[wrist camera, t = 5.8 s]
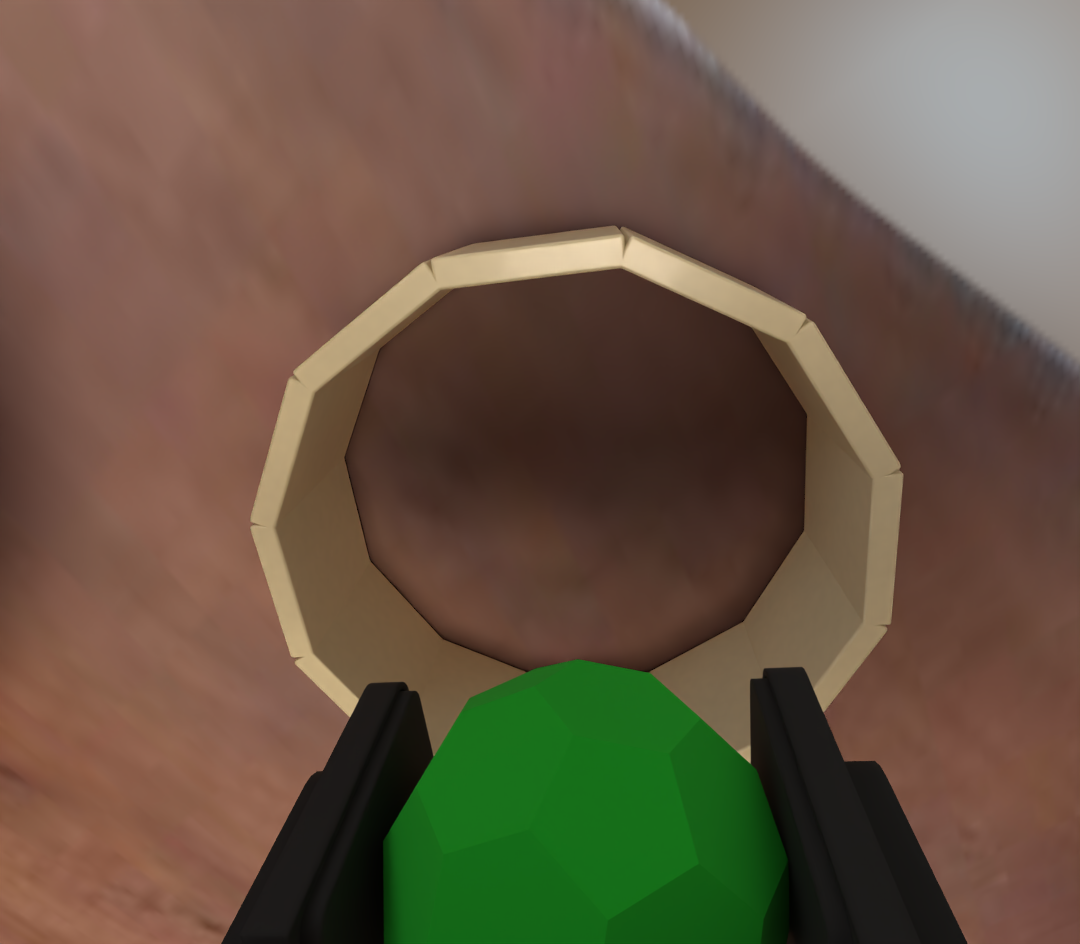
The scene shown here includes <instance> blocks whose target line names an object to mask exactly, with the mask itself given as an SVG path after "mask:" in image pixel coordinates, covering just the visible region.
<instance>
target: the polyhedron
mask: <svg viewBox="0 0 1080 944" xmlns="http://www.w3.org/2000/svg"><path fill="white" fill-rule="evenodd" d="M383 885H384V944H786V943H787V938H788V933H789V866H788V858H787V855H786V852H785V849H784V846H783V844H782V841H781V838H780V835H779V832H778V829H777V826H776V824H775V821H774V818H773V815H772V812H771V809H770V806H769V804H768V801H767V798H766V795H765V792H764V789H763V786H762V783H761V781H760V778H759V775H758V772H757V769H755V768H754V767H753V766H752V765H751V764H750V763H749V762H748V761H747V760H746V759H745V758H744V757H742V756H741V755H740V754H739V753H738V752H737V751H736V750H735V749H734V748H733V747H732V746H731V745H729V744H728V743H727V742H726V741H725V740H724V739H723V738H722V737H721V736H720V735H719V734H718V733H716V732H715V731H714V730H713V729H712V728H711V727H710V726H709V725H708V724H707V723H706V722H705V721H703V720H702V719H701V718H700V717H699V716H698V715H697V714H696V713H695V712H693V711H692V710H691V709H690V708H689V707H688V706H687V705H686V704H685V703H683V702H682V701H681V700H680V699H679V698H678V697H677V696H676V695H674V694H673V693H672V692H671V691H670V690H669V689H668V688H667V687H666V686H664V685H663V684H662V683H661V682H660V681H659V680H658V679H657V678H655V677H654V676H653V675H652V674H651V673H647V672H642V671H637V670H631V669H626V668H621V667H616V666H611V665H605V664H600V663H595V662H590V661H584V660H579V659H577V660H572V661H568V662H563V663H558V664H554V665H549V666H545V667H540V668H536V669H533V670H531V671H529V672H527V673H524V674H522V675H520V676H518V677H515V678H513V679H511V680H509V681H506V682H504V683H502V684H500V685H497V686H495V687H493V688H491V689H488V690H486V691H484V692H482V693H480V694H477V695H475V696H473V697H471V698H469V700H468V701H467V703H466V704H465V706H464V708H463V709H462V711H461V712H460V714H459V716H458V717H457V719H456V721H455V722H454V724H453V726H452V727H451V729H450V731H449V732H448V734H447V736H446V737H445V739H444V741H443V742H442V744H441V746H440V747H439V749H438V751H437V752H436V754H435V756H434V757H433V759H432V760H431V762H430V764H429V765H428V767H427V769H426V770H425V772H424V774H423V775H422V777H421V779H420V780H419V782H418V784H417V785H416V787H415V789H414V790H413V792H412V794H411V795H410V797H409V799H408V800H407V802H406V804H405V805H404V807H403V809H402V810H401V812H400V814H399V815H398V817H397V819H396V821H395V822H394V824H393V826H392V827H391V829H390V831H389V832H388V834H387V836H386V837H385V839H384V841H383Z"/></svg>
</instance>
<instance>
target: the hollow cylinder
mask: <svg viewBox="0 0 1080 944" xmlns="http://www.w3.org/2000/svg"><path fill="white" fill-rule="evenodd" d="M619 268H622V269H624V270H626V271H628V272H631V273H633V274H635V275H637V276H639V277H642V278H644V279H646V280H648V281H651V282H653V283H655V284H657V285H659V286H662V287H664V288H666V289H668V290H670V291H673V292H675V293H677V294H679V295H681V296H684V297H686V298H688V299H690V300H692V301H695V302H697V303H699V304H701V305H703V306H706V307H708V308H710V309H712V310H714V311H717V312H719V313H721V314H723V315H726V316H728V317H730V318H732V319H734V320H737V321H739V322H741V323H743V324H745V325H748V326H750V327H752V329H753V331H754V332H755V334H756V335H757V337H758V338H759V340H760V342H761V343H762V345H763V346H764V348H765V349H766V351H767V352H768V354H769V356H770V357H771V359H772V360H773V362H774V363H775V365H776V367H777V368H778V370H779V371H780V373H781V374H782V376H783V378H784V379H785V381H786V382H787V384H788V385H789V387H790V388H791V390H792V392H793V393H794V395H795V396H796V398H797V399H798V401H799V403H800V404H801V406H802V407H803V409H804V410H805V412H806V414H807V438H806V477H805V516H804V531H803V533H802V534H801V536H800V537H799V539H798V540H797V542H796V543H795V545H794V546H793V548H792V549H791V551H790V552H789V554H788V555H787V557H786V558H785V560H784V561H783V563H782V564H781V566H780V567H779V569H778V571H777V572H776V574H775V575H774V577H773V578H772V580H771V581H770V583H769V584H768V586H767V587H766V589H765V590H764V592H763V593H762V595H761V596H760V598H759V599H758V601H757V602H756V604H755V605H754V607H753V608H752V610H751V611H750V613H749V614H748V616H747V617H746V619H745V620H744V622H742V623H740V624H738V625H736V626H734V627H732V628H731V629H729V630H727V631H725V632H723V633H721V634H719V635H717V636H716V637H714V638H712V639H710V640H708V641H706V642H704V643H702V644H701V645H699V646H697V647H695V648H693V649H691V650H689V651H687V652H686V653H684V654H682V655H680V656H678V657H676V658H674V659H672V660H671V661H669V662H667V663H665V664H663V665H661V666H659V667H658V668H656V669H654V670H652V671H650V672H648V673H651V674H652V675H653V676H654V677H655V678H657V679H658V680H659V681H660V682H661V683H662V684H663V685H664V686H666V687H667V688H668V689H669V690H670V691H671V692H672V693H673V694H674V695H676V696H677V697H678V698H679V699H680V700H681V701H682V702H683V703H685V704H686V705H687V706H688V707H689V708H690V709H691V710H692V711H693V712H695V713H696V714H697V715H698V716H699V717H700V718H701V719H702V720H703V721H705V722H706V723H707V724H708V725H709V726H710V727H711V728H712V729H713V730H714V731H715V732H716V733H718V734H719V735H720V736H721V737H722V738H723V739H724V740H725V741H726V742H727V743H728V744H729V745H731V746H732V747H733V748H734V749H735V750H736V751H737V752H738V753H739V754H740V755H741V756H742V757H744V758H745V759H746V760H747V761H748V762H749V763H750V764H751V745H750V680H751V679H758V678H762V677H763V669H764V668H783V667H803V668H804V669H805V671H806V673H807V675H808V677H809V680H810V682H811V685H812V687H813V689H814V692H815V694H816V696H817V699H818V701H819V703H820V706H821V708H822V711H823V713H824V711H825V710H826V709H827V708H828V706H829V705H830V704H831V702H832V701H833V700H834V699H835V697H836V696H837V695H838V693H839V692H840V691H841V690H842V688H843V687H844V686H845V684H846V683H847V682H848V681H849V679H850V678H851V677H852V675H853V674H854V673H855V672H856V670H857V669H858V668H859V666H860V665H861V664H862V663H863V661H864V660H865V659H866V657H867V656H868V655H869V654H870V652H871V651H872V650H873V648H874V647H875V646H876V645H877V643H878V642H879V641H880V640H881V638H882V637H883V636H884V634H885V633H886V632H887V627H886V626H885V625H889V624H891V617H892V605H893V594H894V582H895V570H896V558H897V546H898V534H899V523H900V511H901V499H902V487H903V473H902V472H901V471H900V470H898V469H900V468H901V466H900V463H899V461H898V459H897V458H896V456H895V455H894V453H893V451H892V450H891V448H890V446H889V445H888V443H887V441H886V440H885V438H884V436H883V435H882V433H881V431H880V430H879V428H878V427H877V425H876V423H875V422H874V420H873V418H872V417H871V415H870V413H869V412H868V410H867V408H866V407H865V405H864V403H863V402H862V400H861V399H860V397H859V395H858V394H857V392H856V390H855V389H854V387H853V385H852V384H851V382H850V380H849V379H848V377H847V375H846V374H845V372H844V371H843V369H842V367H841V366H840V364H839V362H838V361H837V359H836V357H835V356H834V354H833V352H832V351H831V349H830V347H829V346H828V344H827V343H826V341H825V339H824V338H823V336H822V334H821V333H820V331H819V329H818V328H817V326H816V324H815V323H814V322H813V321H811V320H809V319H807V318H806V315H805V314H804V313H802V312H800V311H799V310H797V309H795V308H793V307H791V306H789V305H787V304H785V303H784V302H782V301H780V300H778V299H776V298H774V297H772V296H771V295H769V294H767V293H765V292H763V291H761V290H759V289H757V288H756V287H754V286H752V285H750V284H747V283H745V282H743V281H741V280H739V279H736V278H734V277H732V276H730V275H728V274H726V273H723V272H721V271H719V270H717V269H715V268H713V267H710V266H708V265H706V264H704V263H702V262H699V261H697V260H695V259H693V258H691V257H689V256H686V255H684V254H682V253H680V252H678V251H676V250H673V249H671V248H669V247H667V246H665V245H662V244H660V243H658V242H656V241H654V240H652V239H649V238H647V237H645V236H643V235H641V234H638V233H636V232H634V231H632V230H630V229H628V228H625V227H621V229H620V230H619V229H618V228H617V227H616V226H614V225H613V226H606V227H598V228H590V229H582V230H575V231H567V232H559V233H551V234H544V235H536V236H528V237H520V238H513V239H505V240H497V241H489V242H482V243H474V244H471V245H468V246H465V247H462V248H459V249H456V250H454V251H451V252H448V253H445V254H442V255H439V256H436V257H434V258H432V259H431V260H428V261H425V262H423V263H421V264H420V265H418V266H417V267H416V268H415V269H414V270H412V271H411V272H410V273H409V274H408V275H407V276H405V277H404V278H403V279H402V280H401V281H399V282H398V283H397V284H396V285H395V286H393V287H392V288H391V289H390V290H389V291H387V292H386V293H385V294H384V295H383V296H382V297H380V298H379V299H378V300H377V301H376V302H374V303H373V304H372V305H371V306H370V307H368V308H367V309H366V310H365V311H364V312H362V313H361V314H360V315H359V316H358V317H357V318H355V319H354V320H353V321H352V322H351V323H349V324H348V325H347V326H346V327H345V328H343V329H342V330H341V331H340V332H339V333H337V334H336V335H335V336H334V337H333V338H332V339H330V340H329V341H328V342H327V343H326V344H324V345H323V346H322V347H321V348H320V349H318V350H317V351H316V352H315V353H314V354H312V355H311V356H310V357H309V358H308V359H307V360H305V361H304V362H303V363H302V364H301V365H299V366H298V367H297V368H296V369H295V370H294V372H293V373H294V376H292V377H290V378H289V379H288V382H287V386H286V389H285V393H284V397H283V400H282V404H281V408H280V411H279V415H278V419H277V422H276V426H275V429H274V433H273V437H272V440H271V444H270V448H269V451H268V455H267V459H266V462H265V466H264V470H263V473H262V477H261V481H260V484H259V488H258V492H257V495H256V499H255V503H254V506H253V510H252V514H251V517H250V521H251V522H252V523H254V524H253V525H252V526H251V527H250V530H251V533H252V536H253V539H254V542H255V545H256V548H257V552H258V555H259V558H260V561H261V564H262V567H263V570H264V574H265V577H266V580H267V583H268V586H269V589H270V592H271V596H272V599H273V602H274V605H275V608H276V611H277V614H278V617H279V621H280V624H281V627H282V630H283V633H284V636H285V639H286V643H287V646H288V649H289V652H290V655H291V657H293V658H295V657H297V658H296V660H295V662H294V663H295V664H296V665H297V666H298V667H299V668H300V669H301V670H302V671H303V672H304V673H305V674H306V675H307V676H308V677H309V678H310V679H311V680H312V681H313V682H314V683H315V684H316V685H317V686H318V687H319V688H320V689H321V690H322V691H323V692H324V693H326V694H327V695H328V696H329V697H330V698H331V699H332V700H333V701H334V702H335V703H336V704H337V705H338V706H339V707H340V708H341V709H342V710H343V711H344V712H345V713H346V714H347V715H348V716H349V717H351V715H352V713H353V711H354V709H355V707H356V705H357V703H358V701H359V699H360V697H361V695H362V693H363V691H364V689H365V688H366V686H367V685H368V684H370V683H381V682H405V683H406V684H407V686H408V689H409V691H417V692H418V693H419V696H420V700H421V704H422V708H423V712H424V717H425V721H426V725H427V730H428V734H429V738H430V743H431V747H432V751H433V756H435V754H436V752H437V751H438V749H439V747H440V746H441V744H442V742H443V741H444V739H445V737H446V736H447V734H448V732H449V731H450V729H451V727H452V726H453V724H454V722H455V721H456V719H457V717H458V716H459V714H460V712H461V711H462V709H463V708H464V706H465V704H466V703H467V701H468V700H469V698H471V697H473V696H475V695H477V694H480V693H482V692H484V691H486V690H488V689H491V688H493V687H495V686H497V685H500V684H502V683H504V682H506V681H509V680H511V679H513V678H515V677H518V676H520V675H522V674H524V673H527V672H525V671H522V670H520V669H517V668H515V667H512V666H510V665H507V664H504V663H502V662H499V661H497V660H494V659H492V658H489V657H487V656H484V655H482V654H479V653H476V652H474V651H471V650H469V649H466V648H464V647H461V646H459V645H456V644H454V643H451V642H448V641H446V640H443V639H442V638H441V637H440V636H439V635H438V634H437V633H436V632H435V631H434V629H433V628H432V627H431V626H430V625H429V624H428V623H427V622H426V621H425V620H424V619H423V618H422V617H421V615H420V614H419V613H418V612H417V611H416V610H415V609H414V608H413V607H412V606H411V605H410V604H409V603H408V601H407V600H406V599H405V598H404V597H403V596H402V595H401V594H400V593H399V592H398V591H397V590H396V588H395V587H394V586H393V585H392V584H391V583H390V582H389V581H388V580H387V579H386V578H385V577H384V576H383V574H382V573H381V572H380V571H379V570H378V569H377V568H376V567H375V566H374V565H373V564H372V563H371V562H370V559H369V555H368V551H367V547H366V543H365V539H364V535H363V531H362V527H361V523H360V519H359V515H358V511H357V507H356V503H355V499H354V495H353V491H352V487H351V483H350V479H349V475H348V471H347V467H346V463H345V459H344V457H345V453H346V450H347V447H348V444H349V441H350V438H351V435H352V432H353V429H354V426H355V423H356V420H357V417H358V414H359V410H360V407H361V404H362V401H363V398H364V395H365V392H366V389H367V386H368V383H369V380H370V377H371V374H372V371H373V367H374V364H375V361H376V358H377V355H378V352H379V349H380V348H381V347H382V346H383V345H385V344H386V343H387V342H388V341H390V340H391V339H392V338H393V337H395V336H396V335H397V334H398V333H400V332H401V331H402V330H403V329H404V328H406V327H407V326H408V325H409V324H411V323H412V322H413V321H414V320H416V319H417V318H418V317H419V316H420V315H422V314H423V313H424V312H425V311H427V310H428V309H429V308H430V307H432V306H433V305H434V304H435V303H437V302H438V301H439V300H440V299H441V298H443V297H444V296H445V295H446V294H448V293H449V292H450V291H451V290H453V289H455V288H463V287H471V286H479V285H487V284H496V283H504V282H512V281H520V280H529V279H537V278H545V277H553V276H561V275H570V274H578V273H586V272H594V271H603V270H611V269H619Z"/></svg>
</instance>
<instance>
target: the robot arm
mask: <svg viewBox="0 0 1080 944" xmlns="http://www.w3.org/2000/svg"><path fill="white" fill-rule="evenodd" d="M750 745H751V765H752V766H753V767H754V768H755V769H757V772H758V775H759V778H760V781H761V783H762V786H763V789H764V792H765V795H766V798H767V801H768V804H769V806H770V809H771V812H772V815H773V818H774V821H775V824H776V826H777V829H778V832H779V835H780V838H781V841H782V844H783V846H784V849H785V852H786V855H787V858H788V866H789V933H788V938H787V943H786V944H967V941H966V939H965V937H964V935H963V933H962V931H961V929H960V927H959V925H958V923H957V921H956V919H955V917H954V915H953V913H952V911H951V909H950V906H949V904H948V902H947V900H946V898H945V896H944V894H943V892H942V890H941V888H940V886H939V884H938V882H937V880H936V878H935V876H934V874H933V872H932V869H931V867H930V865H929V863H928V861H927V859H926V857H925V855H924V853H923V851H922V849H921V847H920V845H919V843H918V841H917V839H916V837H915V835H914V832H913V830H912V828H911V826H910V824H909V822H908V820H907V818H906V816H905V814H904V812H903V810H902V808H901V806H900V804H899V802H898V800H897V798H896V795H895V793H894V791H893V789H892V787H891V785H890V783H889V781H888V779H887V777H886V775H885V773H884V772H883V770H882V768H881V767H880V765H879V764H877V763H876V762H875V761H848V762H844V760H843V758H842V755H841V753H840V751H839V748H838V746H837V744H836V741H835V739H834V737H833V734H832V732H831V729H830V727H829V725H828V722H827V720H826V718H825V715H824V713H823V711H822V708H821V706H820V703H819V701H818V699H817V696H816V694H815V692H814V689H813V687H812V685H811V682H810V680H809V677H808V675H807V673H806V671H805V669H804V668H803V667H783V668H764V669H763V677H762V678H758V679H751V680H750ZM433 757H434V756H433V751H432V747H431V743H430V738H429V734H428V730H427V725H426V721H425V717H424V712H423V708H422V704H421V700H420V696H419V693H418V692H417V691H409V689H408V686H407V684H406V683H405V682H381V683H370V684H368V685H367V686H366V688H365V689H364V691H363V693H362V695H361V697H360V699H359V701H358V703H357V705H356V707H355V709H354V711H353V713H352V715H351V717H350V719H349V721H348V723H347V725H346V727H345V729H344V731H343V732H342V734H341V736H340V738H339V740H338V742H337V744H336V746H335V748H334V750H333V752H332V754H331V756H330V758H329V760H328V762H327V764H326V766H325V768H324V770H323V771H318V772H316V773H315V774H313V775H312V776H311V777H310V778H309V780H308V781H307V783H306V784H305V786H304V788H303V790H302V792H301V793H300V795H299V797H298V799H297V801H296V803H295V805H294V807H293V809H292V811H291V812H290V814H289V816H288V818H287V820H286V822H285V824H284V826H283V828H282V830H281V831H280V833H279V835H278V837H277V839H276V841H275V843H274V845H273V847H272V849H271V850H270V852H269V854H268V856H267V858H266V860H265V862H264V864H263V866H262V867H261V869H260V871H259V873H258V875H257V877H256V879H255V881H254V883H253V885H252V886H251V888H250V890H249V892H248V894H247V896H246V898H245V900H244V902H243V904H242V905H241V907H240V909H239V911H238V913H237V915H236V917H235V919H234V921H233V923H232V924H231V926H230V928H229V930H228V932H227V934H226V936H225V938H224V940H223V942H222V943H221V944H384V885H383V841H384V839H385V837H386V836H387V834H388V832H389V831H390V829H391V827H392V826H393V824H394V822H395V821H396V819H397V817H398V815H399V814H400V812H401V810H402V809H403V807H404V805H405V804H406V802H407V800H408V799H409V797H410V795H411V794H412V792H413V790H414V789H415V787H416V785H417V784H418V782H419V780H420V779H421V777H422V775H423V774H424V772H425V770H426V769H427V767H428V765H429V764H430V762H431V760H432V759H433Z"/></svg>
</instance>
